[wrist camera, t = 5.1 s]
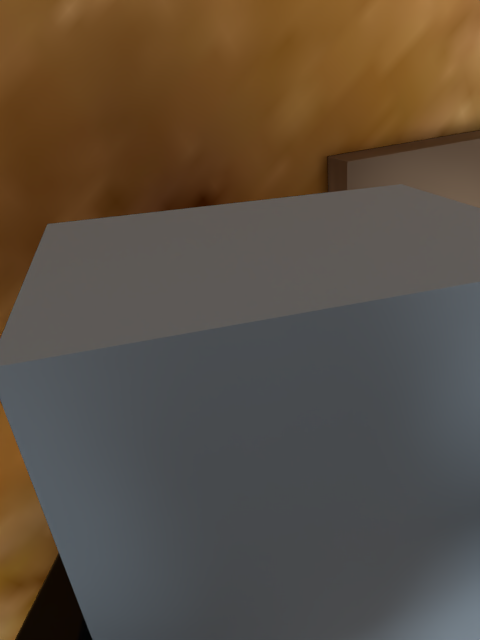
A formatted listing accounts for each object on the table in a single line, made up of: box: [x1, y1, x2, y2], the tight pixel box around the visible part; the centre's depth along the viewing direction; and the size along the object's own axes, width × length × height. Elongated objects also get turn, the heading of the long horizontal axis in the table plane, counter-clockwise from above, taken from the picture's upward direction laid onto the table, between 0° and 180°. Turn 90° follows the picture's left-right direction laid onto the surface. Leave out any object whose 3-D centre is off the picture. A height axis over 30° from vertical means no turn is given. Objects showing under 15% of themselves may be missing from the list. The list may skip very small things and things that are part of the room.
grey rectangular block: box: [0, 184, 480, 640], centre depth 8 cm, size 10×6×4 cm, turn 2°
